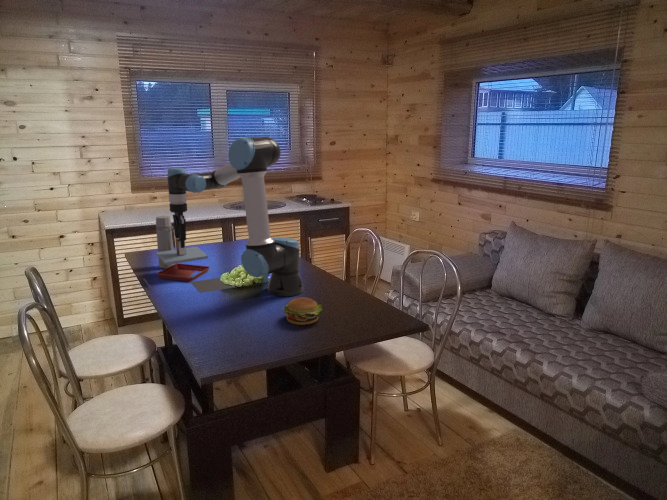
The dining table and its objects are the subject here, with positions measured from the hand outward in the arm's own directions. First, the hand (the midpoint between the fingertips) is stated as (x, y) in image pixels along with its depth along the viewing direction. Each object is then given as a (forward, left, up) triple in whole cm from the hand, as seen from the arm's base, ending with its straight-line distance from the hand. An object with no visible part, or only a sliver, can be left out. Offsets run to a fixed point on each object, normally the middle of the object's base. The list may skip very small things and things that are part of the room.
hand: (181, 253), depth 232 cm
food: (-74, -25, -11) cm, 79 cm away
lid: (0, 0, -2) cm, 2 cm away
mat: (-21, -8, -11) cm, 25 cm away
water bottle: (+16, +3, -11) cm, 20 cm away
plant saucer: (-1, 0, -11) cm, 12 cm away
